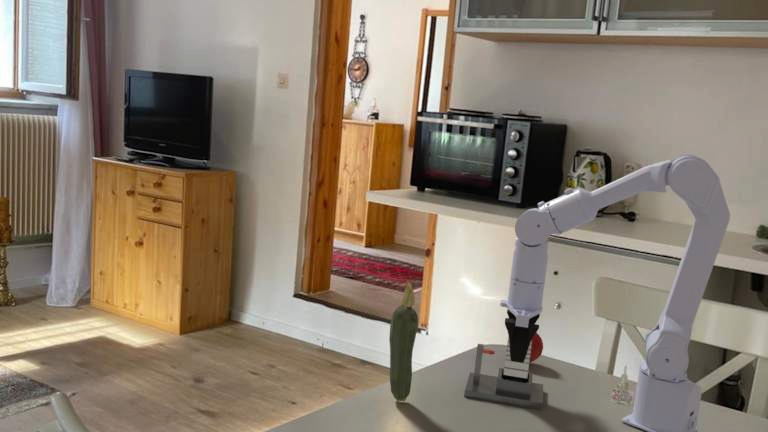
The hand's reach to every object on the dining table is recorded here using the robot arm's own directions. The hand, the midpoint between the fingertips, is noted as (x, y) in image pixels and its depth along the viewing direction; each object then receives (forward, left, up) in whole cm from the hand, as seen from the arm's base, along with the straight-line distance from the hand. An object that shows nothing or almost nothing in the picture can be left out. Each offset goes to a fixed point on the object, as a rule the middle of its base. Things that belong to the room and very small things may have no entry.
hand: (517, 356), depth 127 cm
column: (0, 0, -3) cm, 3 cm away
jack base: (+1, +1, -7) cm, 7 cm away
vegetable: (+9, +20, -7) cm, 23 cm away
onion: (+8, -16, -7) cm, 19 cm away
